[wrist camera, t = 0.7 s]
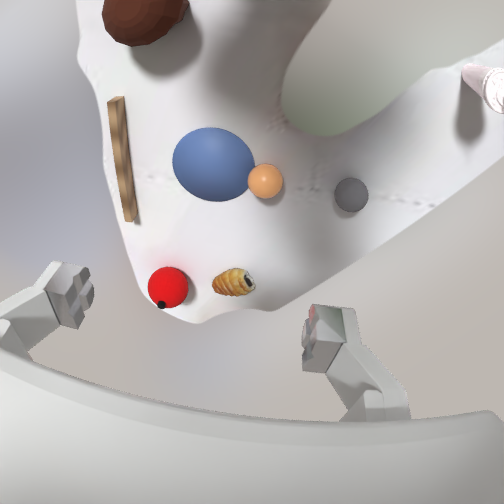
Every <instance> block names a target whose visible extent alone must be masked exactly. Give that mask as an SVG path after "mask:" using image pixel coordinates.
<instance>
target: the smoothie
mask: <svg viewBox="0 0 504 504" xmlns="http://www.w3.org/2000/svg"><path fill="white" fill-rule="evenodd" d="M462 78H463V80H464V82H465V83H466V84H468V85H469V86H470V87H471V88H472V89H473V90H474V91H475V92H477V93H478V94H479V95H480V96H481V97H482V98H483V99H484V100H485V102H486V103H487V105H488V106H489V107H490V108H491V109H492V110H494V111H496V112H498V113H501V114H504V69H503V68H490V67H485V66H481V65H476V64H466V65H465V66H464V67H463V69H462Z"/></svg>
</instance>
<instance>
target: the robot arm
mask: <svg viewBox="0 0 504 504" xmlns="http://www.w3.org/2000/svg"><path fill="white" fill-rule="evenodd" d="M89 277H90V272H89V269H88V268H86V267H83V266H78V265H74V264H71V263H66V262H61V261H57V260H55V261H52V262H51V263H50V265H49V266H48V267H47V269H46V270H45V271H44V273H43V274H42V275H41V276H40V278H39V279H38V280H37V282H36V283H35V284H34V286H33V287H28V288H26V289H24V290H22V291H20V292H18V293H17V294H15V295H13V296H11V297H9V298H7V299H6V300H4V301H2V302H0V504H504V422H503V421H502V420H501V419H500V418H499V417H498V416H497V415H496V414H495V413H493V412H492V411H489V410H483V411H477V412H471V413H464V414H458V415H450V416H442V417H434V418H424V419H412V420H411V415H410V410H409V404H408V399H407V395H406V391H405V388H404V387H403V386H402V385H401V384H400V383H399V382H398V381H397V379H396V378H395V377H394V376H393V375H392V374H391V373H390V372H389V370H388V369H387V368H386V367H385V366H384V365H383V364H382V362H381V361H380V360H379V359H378V358H377V357H376V356H375V355H374V354H373V353H372V351H371V350H370V349H369V348H368V347H367V346H366V345H362V342H361V338H360V332H359V327H358V323H357V318H356V313H355V310H354V309H353V308H344V307H334V306H325V305H316V304H312V306H311V307H310V310H309V318H308V319H307V320H305V324H304V326H303V332H302V346H303V347H304V349H305V350H304V352H303V355H302V368H303V371H308V372H316V373H326V374H325V375H326V376H327V378H328V380H329V381H330V383H331V384H332V386H333V387H334V389H335V391H336V392H337V394H338V395H339V397H340V398H341V400H342V401H343V403H344V405H345V406H346V408H347V409H348V412H347V413H346V414H345V415H344V417H342V418H341V420H340V421H339V422H323V421H301V420H286V419H273V418H263V417H254V416H246V415H238V414H230V413H223V412H217V411H210V410H205V409H199V408H193V407H188V406H183V405H178V404H173V403H168V402H163V401H159V400H155V399H151V398H146V397H142V396H138V395H134V394H130V393H127V392H123V391H119V390H116V389H112V388H109V387H105V386H102V385H98V384H95V383H92V382H89V381H86V380H83V379H79V378H77V377H74V376H71V375H68V374H65V373H63V372H60V371H57V370H54V369H52V368H49V367H46V366H44V365H41V364H39V363H36V362H34V361H33V359H32V358H31V356H30V355H29V353H28V352H27V351H29V350H30V349H31V348H32V347H33V346H35V345H36V344H37V343H39V342H40V341H41V340H43V339H44V338H45V337H46V336H48V335H49V334H50V333H51V332H53V331H54V330H55V329H57V328H58V327H59V326H60V325H63V326H67V327H70V328H74V329H78V328H79V326H80V324H81V323H82V321H83V319H84V317H85V316H84V311H85V310H87V309H88V308H90V306H91V304H92V302H93V298H94V287H93V284H92V283H91V282H90V281H89Z"/></svg>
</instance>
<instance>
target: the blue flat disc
mask: <svg viewBox="0 0 504 504" xmlns="http://www.w3.org/2000/svg"><path fill="white" fill-rule="evenodd" d="M172 163H173V169H174V173H175V175H176V177H177V179H178V181H179V182H180V184H181V185H182V186H183V187H184V188H185V189H186V190H187V191H188V192H190V193H191V194H193V195H195V196H196V197H199V198H201V199H204V200H208V201H227V200H231V199H233V198H236V197H238V196H239V195H241V194H242V193H243V192H244V191H245V190H246V189H247V188H248V187H249V186H248V176H249V173H250V172H251V170H252V169H253V168H254V167H255V165H254V159H253V156H252V154H251V151H250V150H249V148H248V147H247V145H246V144H245V143H244V142H243V141H242V140H241V139H240V138H239V137H237V136H236V135H234V134H232V133H231V132H228V131H226V130H223V129H219V128H201V129H197V130H195V131H192V132H190V133H188V134H187V135H186V136H184V137H183V138H182V139H181V140H180V141H179V143H178V144H177V146H176V148H175V150H174V153H173V162H172Z"/></svg>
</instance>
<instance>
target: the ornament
mask: <svg viewBox="0 0 504 504" xmlns="http://www.w3.org/2000/svg"><path fill="white" fill-rule="evenodd" d="M148 293H149V296H150V298H151V299H152V301H153V302H154V303H155V304H157V306H158V308H160V309H164V308H173V307H176V306H178V305H180V304H181V303H182V302H183V301H184V300H185V298H186V296H187V293H188V282H187V279H186V277H185V276H184V275H183V273H182V272H181V271H179V270H177V269H175V268H172V267H163V268H160V269H158V270H156V271H155V272H154V273H153V274H152V275H151V277H150V279H149V282H148Z"/></svg>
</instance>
